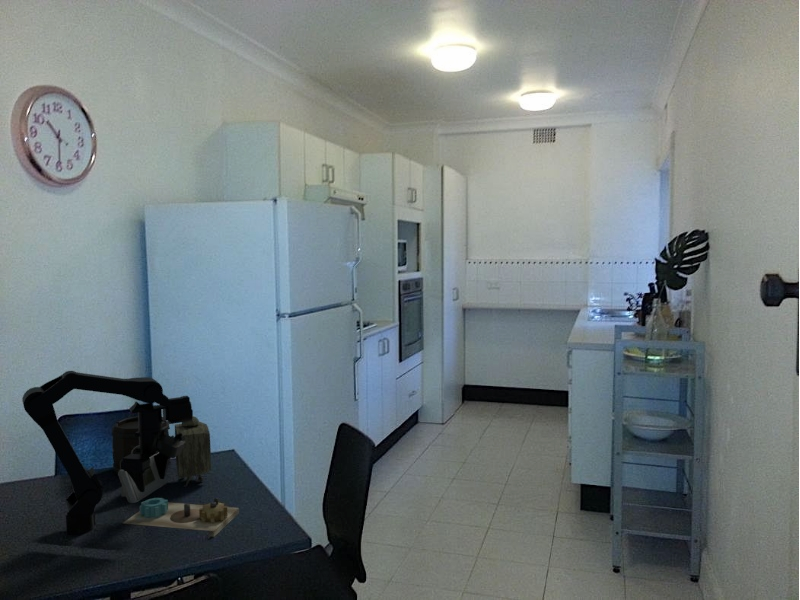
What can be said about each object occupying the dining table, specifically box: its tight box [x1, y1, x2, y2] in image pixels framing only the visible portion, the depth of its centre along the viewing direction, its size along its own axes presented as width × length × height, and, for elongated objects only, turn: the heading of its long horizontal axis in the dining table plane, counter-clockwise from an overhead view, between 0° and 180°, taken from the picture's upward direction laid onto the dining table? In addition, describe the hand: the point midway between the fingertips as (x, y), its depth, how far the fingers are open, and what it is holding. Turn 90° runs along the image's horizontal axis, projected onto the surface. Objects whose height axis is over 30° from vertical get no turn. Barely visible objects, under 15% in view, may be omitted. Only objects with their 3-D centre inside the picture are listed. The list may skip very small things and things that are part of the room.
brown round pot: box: [110, 415, 172, 477], centre depth 204 cm, size 18×18×16 cm
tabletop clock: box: [174, 401, 212, 487], centre depth 192 cm, size 14×9×25 cm, turn 23°
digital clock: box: [117, 456, 167, 504], centre depth 182 cm, size 16×9×11 cm, turn 156°
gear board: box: [122, 497, 240, 538], centre depth 166 cm, size 14×25×6 cm, turn 79°
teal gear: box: [139, 497, 169, 518], centre depth 168 cm, size 7×7×3 cm
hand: (152, 485), depth 167 cm, fingers open, 9 cm apart
